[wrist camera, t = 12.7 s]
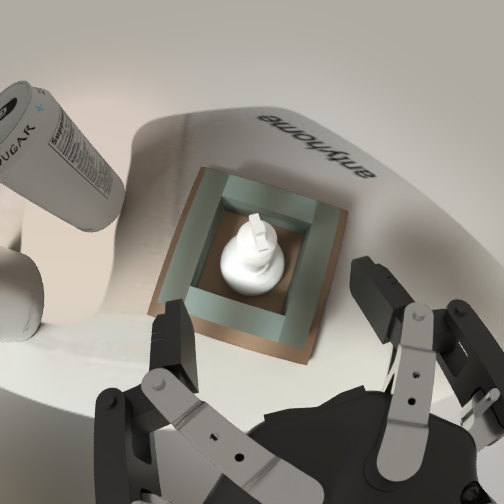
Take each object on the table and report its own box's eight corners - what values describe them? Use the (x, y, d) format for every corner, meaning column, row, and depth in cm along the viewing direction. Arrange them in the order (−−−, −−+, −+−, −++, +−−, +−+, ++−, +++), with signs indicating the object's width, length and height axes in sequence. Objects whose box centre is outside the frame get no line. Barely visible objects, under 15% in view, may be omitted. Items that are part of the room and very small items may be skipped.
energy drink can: (70, 192, 24) (-27, 112, 9) (120, 164, 25) (41, 57, 10) (82, 245, 23) (-39, 185, 8) (136, 217, 24) (36, 119, 9)
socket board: (151, 314, 22) (133, 314, 18) (202, 171, 25) (196, 148, 21) (304, 363, 22) (316, 373, 18) (344, 214, 24) (360, 198, 20)
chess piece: (229, 303, 22) (218, 299, 12) (213, 241, 22) (191, 190, 13) (292, 285, 22) (330, 267, 12) (274, 225, 23) (295, 165, 13)
